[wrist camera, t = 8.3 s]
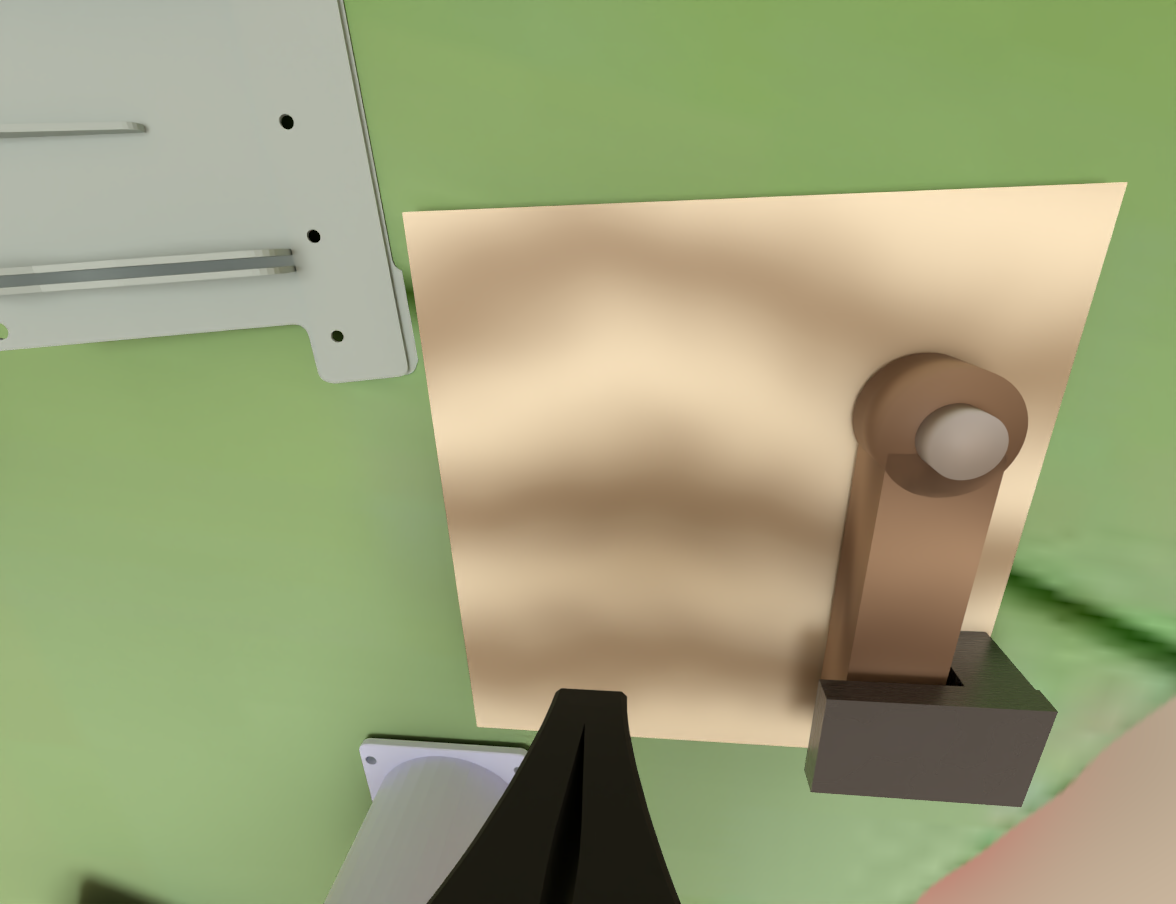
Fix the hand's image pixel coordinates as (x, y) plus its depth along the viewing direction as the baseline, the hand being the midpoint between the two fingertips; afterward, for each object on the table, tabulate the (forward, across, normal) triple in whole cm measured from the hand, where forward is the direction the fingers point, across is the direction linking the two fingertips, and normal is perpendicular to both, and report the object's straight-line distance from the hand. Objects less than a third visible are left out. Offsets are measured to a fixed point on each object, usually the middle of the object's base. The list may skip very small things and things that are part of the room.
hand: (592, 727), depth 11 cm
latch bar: (+8, -9, +1) cm, 12 cm away
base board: (+9, -4, 0) cm, 10 cm away
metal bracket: (+10, +13, -12) cm, 21 cm away
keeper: (+8, -10, +6) cm, 14 cm away
